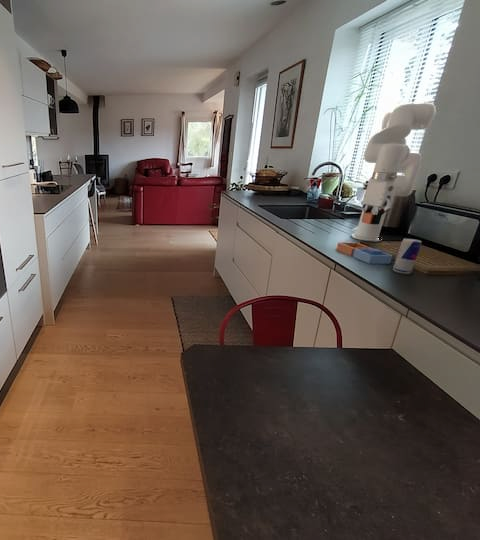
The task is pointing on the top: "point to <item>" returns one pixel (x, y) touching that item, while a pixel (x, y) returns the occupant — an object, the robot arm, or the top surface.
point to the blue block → (373, 251)
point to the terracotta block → (367, 218)
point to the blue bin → (372, 257)
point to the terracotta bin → (350, 247)
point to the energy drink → (407, 256)
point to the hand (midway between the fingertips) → (370, 222)
